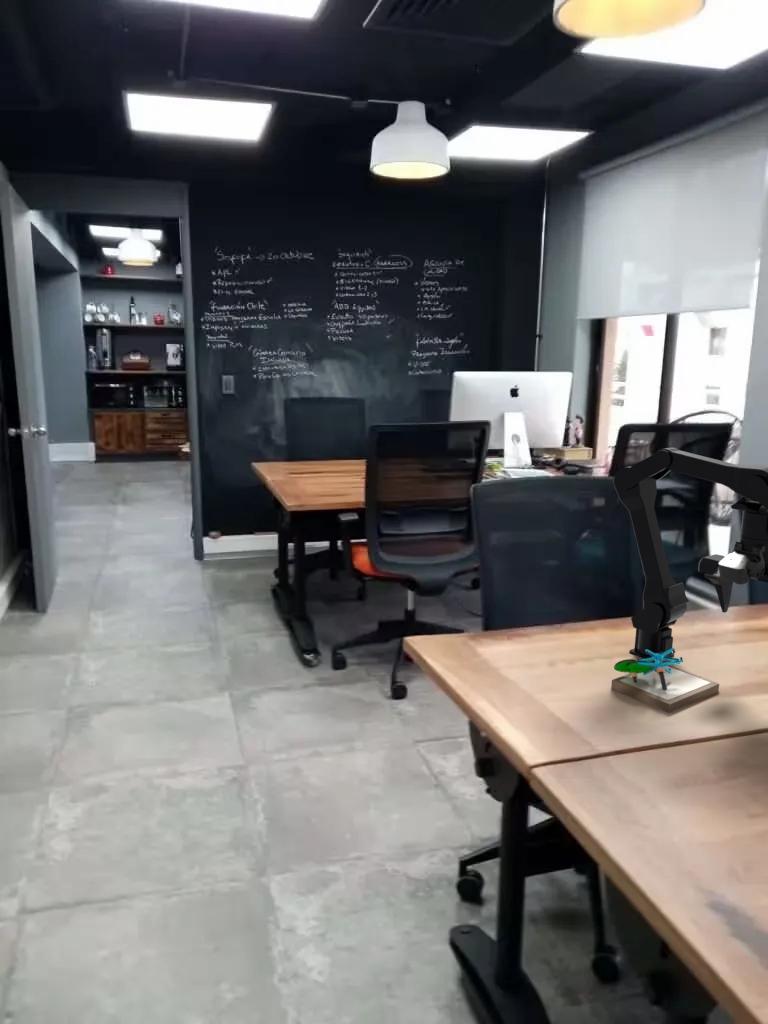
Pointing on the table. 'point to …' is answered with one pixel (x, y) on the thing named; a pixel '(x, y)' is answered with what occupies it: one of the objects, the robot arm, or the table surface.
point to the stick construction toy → (649, 665)
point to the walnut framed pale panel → (679, 688)
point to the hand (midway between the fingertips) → (748, 619)
